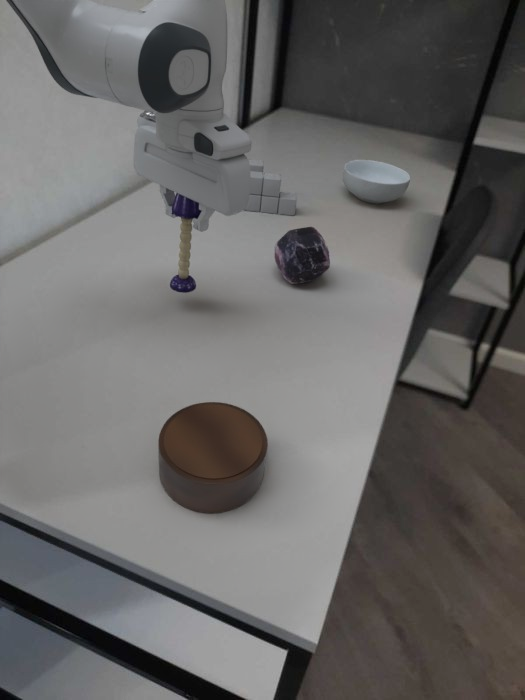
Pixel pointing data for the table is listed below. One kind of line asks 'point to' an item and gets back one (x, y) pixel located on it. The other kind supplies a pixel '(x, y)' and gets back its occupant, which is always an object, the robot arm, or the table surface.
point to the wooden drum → (212, 456)
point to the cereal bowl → (375, 180)
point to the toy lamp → (184, 242)
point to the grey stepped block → (268, 192)
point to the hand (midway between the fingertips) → (186, 222)
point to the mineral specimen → (302, 255)
